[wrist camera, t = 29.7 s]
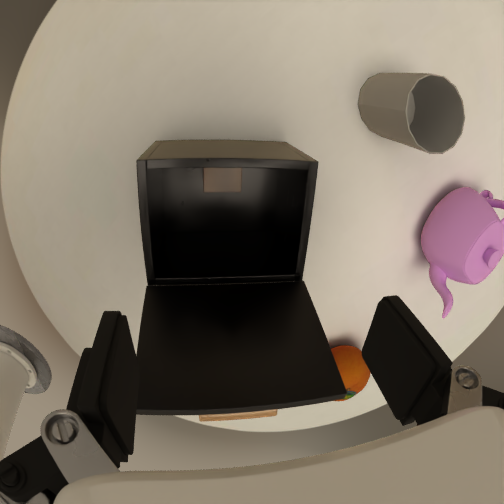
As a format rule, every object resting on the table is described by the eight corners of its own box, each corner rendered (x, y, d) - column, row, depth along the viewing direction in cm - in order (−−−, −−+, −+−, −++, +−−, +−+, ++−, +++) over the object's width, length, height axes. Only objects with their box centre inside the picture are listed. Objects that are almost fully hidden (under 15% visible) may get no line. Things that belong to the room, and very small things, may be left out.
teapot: (460, 158, 38) (516, 183, 28) (489, 208, 43) (535, 237, 33) (383, 257, 44) (426, 303, 34) (422, 292, 49) (459, 335, 39)
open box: (155, 140, 32) (136, 160, 23) (286, 141, 34) (318, 161, 25) (159, 236, 37) (147, 286, 28) (277, 234, 40) (302, 281, 30)
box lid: (131, 409, 17) (146, 436, 20) (347, 393, 20) (329, 422, 22) (146, 285, 27) (153, 322, 30) (304, 280, 30) (295, 317, 32)
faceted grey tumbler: (420, 94, 33) (473, 102, 24) (399, 147, 36) (448, 166, 28) (371, 61, 30) (421, 58, 22) (348, 118, 34) (393, 130, 25)
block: (203, 182, 34) (203, 192, 31) (203, 149, 33) (203, 155, 29) (237, 182, 35) (241, 192, 32) (238, 149, 33) (242, 155, 30)
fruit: (309, 340, 50) (324, 376, 43) (365, 332, 51) (384, 364, 44) (301, 380, 55) (312, 414, 48) (351, 371, 56) (366, 402, 49)
